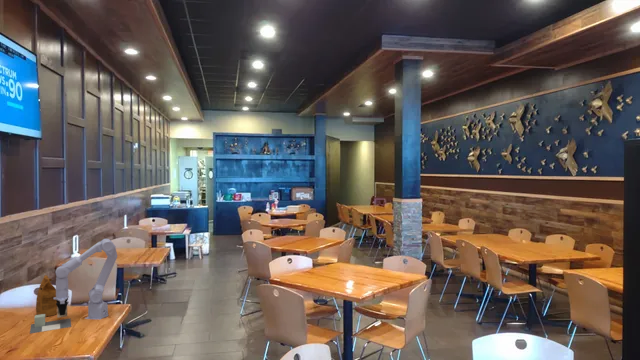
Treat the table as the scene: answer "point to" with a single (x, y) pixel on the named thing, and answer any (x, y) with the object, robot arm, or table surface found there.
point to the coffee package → (46, 298)
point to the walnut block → (61, 315)
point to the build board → (51, 325)
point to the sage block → (39, 320)
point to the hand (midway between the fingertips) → (62, 313)
